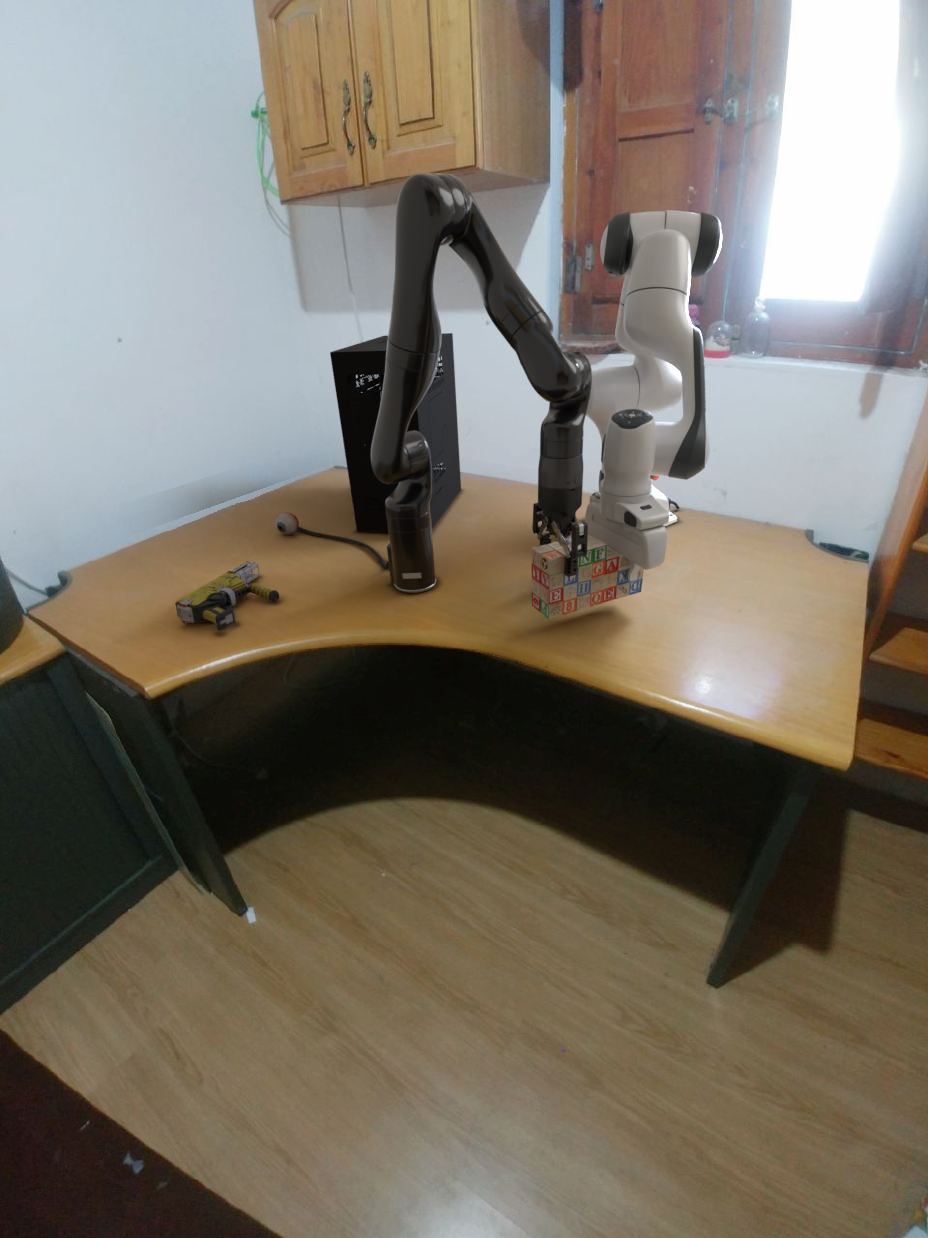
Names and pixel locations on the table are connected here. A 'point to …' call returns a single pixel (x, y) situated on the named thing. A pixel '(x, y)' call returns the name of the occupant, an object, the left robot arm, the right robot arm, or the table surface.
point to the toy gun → (222, 597)
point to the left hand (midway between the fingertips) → (557, 566)
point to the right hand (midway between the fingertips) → (618, 572)
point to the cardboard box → (429, 419)
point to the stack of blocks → (579, 578)
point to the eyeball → (287, 523)
